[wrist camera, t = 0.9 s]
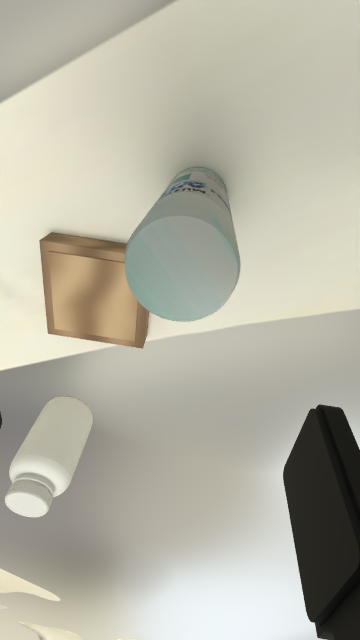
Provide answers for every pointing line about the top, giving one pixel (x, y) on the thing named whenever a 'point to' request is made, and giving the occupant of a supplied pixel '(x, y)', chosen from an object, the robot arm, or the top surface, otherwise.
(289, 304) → the top surface
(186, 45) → the top surface
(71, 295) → the square brown tray
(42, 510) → the pill bottle
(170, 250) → the pale blue bottle
